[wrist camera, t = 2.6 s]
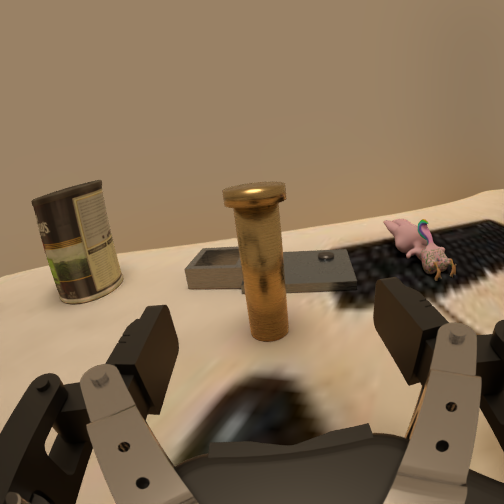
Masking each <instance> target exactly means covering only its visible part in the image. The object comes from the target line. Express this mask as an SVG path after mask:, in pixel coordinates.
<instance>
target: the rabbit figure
mask: <svg viewBox="0 0 504 504" xmlns="http://www.w3.org/2000/svg"><path fill="white" fill-rule="evenodd" d="M383 223H384V224H385V225H386V227H387V229H388V230H389V231H390V232H391V234H393V236H394V237H395V244H396V247H397V249H398V250H399V251H401V252H402V253H407V254H406V257H407V258H410V257H411V256H412V255H416V256H417V257H418V258H419V259H420V260H421V261H422V266H423V269H424V271H425V272H426V273H427V274H433V273H435V272H436V270H437V275H436V277H435V280H436V281H437V278H438V277H440V273H441V272H443V271H445V270H446V269H447V268H448V266H449V264H451V265H452V272H451V274H452V277H453V274H455V273H456V271H455V270H456V267H455V266H456V264H455V266H454V264H453V262H452V259H448V258H447V257H446V255H445V253H444V251H445V248H443V247H437V246H436V245H435V244H434V243H433V240H432V236H431V233H430V231H429V229H428V227H427V224H428V222H427V221H426V220H424V219H422V220H421V221H420V222H419V224H418V227H417V226H416V225H414V224H411V223H410V222H409V221H407V220H405V219H396V220H393V221H388V220H386V221H384V222H383ZM427 242H428V245H427ZM426 245H427V246H426ZM451 274H450V276H451ZM455 275H456V274H455ZM440 278H441V277H440Z"/></svg>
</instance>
